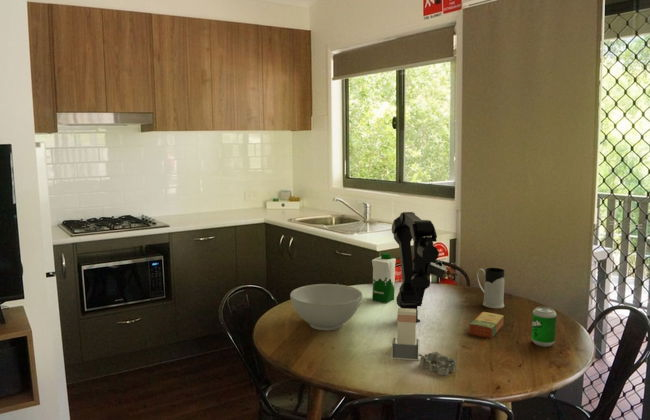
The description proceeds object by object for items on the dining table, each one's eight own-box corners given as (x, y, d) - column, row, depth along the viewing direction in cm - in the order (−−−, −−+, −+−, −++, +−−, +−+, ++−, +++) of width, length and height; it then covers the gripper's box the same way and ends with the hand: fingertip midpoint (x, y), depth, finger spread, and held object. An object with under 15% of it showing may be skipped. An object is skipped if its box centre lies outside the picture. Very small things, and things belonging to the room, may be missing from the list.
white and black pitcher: (493, 309, 228) (495, 273, 226) (468, 300, 241) (470, 266, 238) (509, 306, 233) (510, 270, 230) (483, 297, 245) (485, 263, 243)
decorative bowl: (300, 311, 226) (300, 282, 225) (366, 315, 221) (366, 285, 219) (281, 334, 200) (281, 302, 199) (356, 340, 195) (356, 306, 193)
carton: (503, 325, 211) (504, 314, 210) (491, 339, 197) (492, 327, 196) (481, 321, 215) (482, 310, 214) (468, 334, 201) (469, 323, 201)
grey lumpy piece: (416, 366, 174) (416, 353, 174) (432, 360, 179) (432, 347, 178) (442, 378, 166) (443, 364, 166) (459, 371, 171) (459, 358, 170)
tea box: (397, 341, 191) (398, 307, 190) (415, 343, 190) (416, 308, 189) (396, 346, 188) (397, 311, 186) (415, 347, 187) (416, 312, 185)
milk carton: (397, 299, 242) (398, 253, 239) (387, 304, 235) (387, 257, 232) (379, 295, 247) (379, 251, 244) (368, 301, 240) (369, 255, 237)
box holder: (393, 339, 196) (394, 325, 195) (419, 340, 194) (420, 327, 194) (390, 358, 179) (391, 343, 179) (419, 360, 178) (419, 345, 177)
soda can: (554, 340, 195) (556, 307, 193) (555, 348, 188) (557, 314, 186) (530, 338, 197) (532, 305, 195) (531, 345, 190) (533, 311, 188)
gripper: (445, 262, 186) (444, 308, 188) (443, 251, 204) (442, 292, 207) (411, 261, 188) (410, 306, 190) (413, 250, 206) (412, 291, 209)
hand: (420, 299), depth 199 cm, fingers open, 9 cm apart
